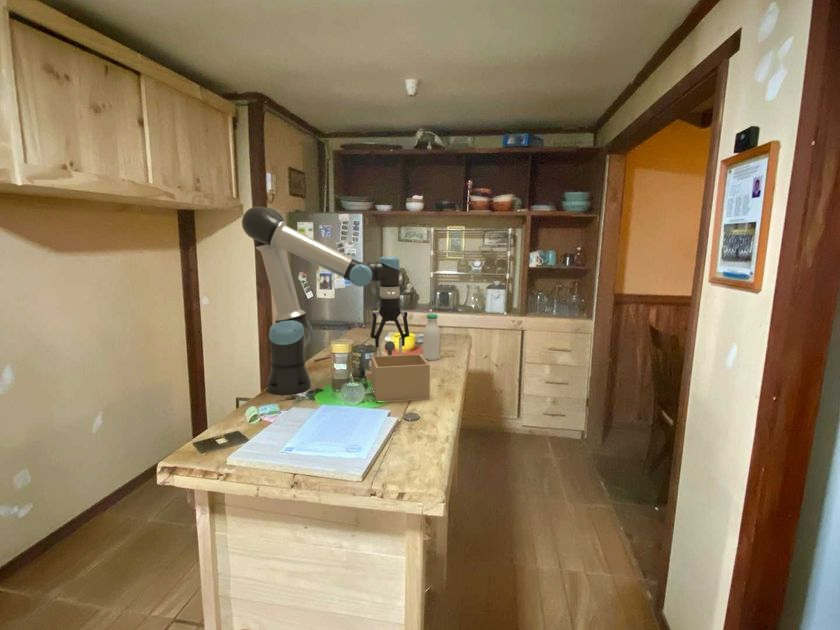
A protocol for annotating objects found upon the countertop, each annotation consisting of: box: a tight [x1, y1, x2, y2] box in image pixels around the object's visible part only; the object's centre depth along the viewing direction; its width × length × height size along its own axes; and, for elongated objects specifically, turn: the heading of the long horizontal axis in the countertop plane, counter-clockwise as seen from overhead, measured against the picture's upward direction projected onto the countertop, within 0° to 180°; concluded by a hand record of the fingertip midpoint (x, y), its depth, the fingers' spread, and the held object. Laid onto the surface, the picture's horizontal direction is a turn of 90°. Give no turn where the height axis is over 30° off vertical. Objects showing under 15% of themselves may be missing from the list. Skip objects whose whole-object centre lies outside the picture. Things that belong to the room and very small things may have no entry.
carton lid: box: [365, 340, 396, 381], centre depth 175 cm, size 20×16×14 cm
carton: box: [370, 353, 431, 403], centre depth 154 cm, size 18×14×12 cm
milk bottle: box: [422, 313, 441, 361], centre depth 198 cm, size 8×8×20 cm
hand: (390, 354), depth 175 cm, fingers open, 8 cm apart
